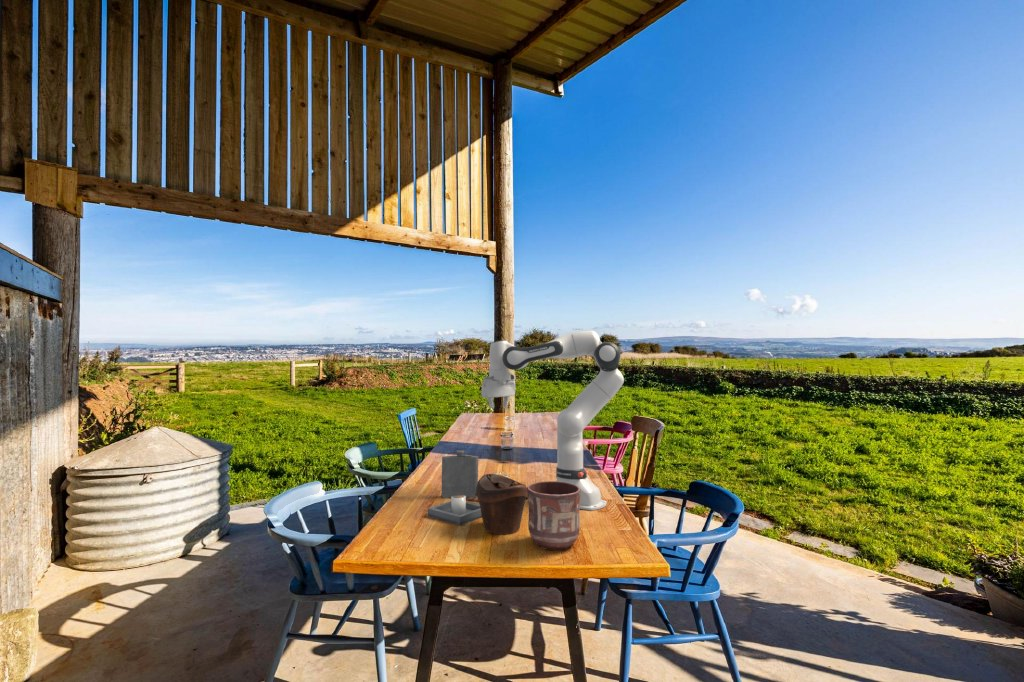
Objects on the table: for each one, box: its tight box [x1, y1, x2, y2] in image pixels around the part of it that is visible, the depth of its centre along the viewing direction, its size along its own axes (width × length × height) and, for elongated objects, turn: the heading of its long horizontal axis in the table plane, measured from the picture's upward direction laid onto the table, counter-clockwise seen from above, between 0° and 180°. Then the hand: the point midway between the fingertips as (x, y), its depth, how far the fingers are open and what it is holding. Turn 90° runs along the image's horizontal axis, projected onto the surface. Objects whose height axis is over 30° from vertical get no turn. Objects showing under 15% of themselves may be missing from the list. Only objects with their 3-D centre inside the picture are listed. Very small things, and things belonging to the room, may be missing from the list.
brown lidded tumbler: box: [475, 473, 528, 535], centre depth 168 cm, size 18×20×18 cm
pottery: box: [526, 480, 581, 551], centre depth 154 cm, size 18×18×18 cm
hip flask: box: [440, 449, 479, 499], centre depth 210 cm, size 16×4×20 cm, turn 96°
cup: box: [450, 495, 467, 515], centre depth 183 cm, size 6×6×6 cm
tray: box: [427, 500, 482, 526], centre depth 182 cm, size 17×16×3 cm
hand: (498, 407), depth 214 cm, fingers open, 8 cm apart
